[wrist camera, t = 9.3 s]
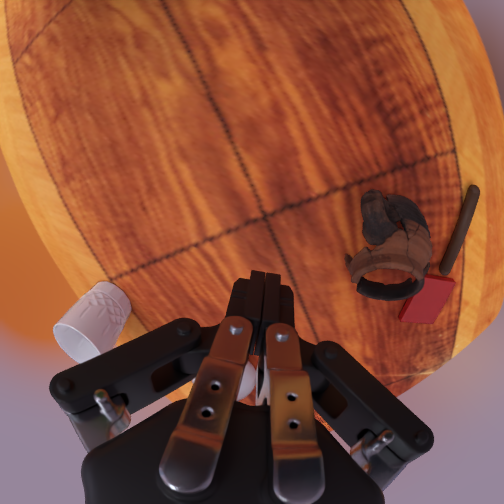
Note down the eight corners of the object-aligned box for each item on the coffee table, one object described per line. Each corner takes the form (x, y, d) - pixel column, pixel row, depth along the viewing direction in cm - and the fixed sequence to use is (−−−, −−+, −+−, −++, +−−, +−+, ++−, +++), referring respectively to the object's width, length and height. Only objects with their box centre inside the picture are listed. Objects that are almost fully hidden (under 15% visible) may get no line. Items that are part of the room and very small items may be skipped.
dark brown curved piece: (434, 232, 26) (441, 297, 22) (365, 250, 32) (361, 310, 28) (401, 151, 20) (414, 221, 15) (315, 184, 26) (302, 251, 22)
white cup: (107, 268, 32) (65, 315, 23) (145, 310, 35) (114, 364, 26) (82, 289, 35) (46, 332, 26) (116, 326, 37) (87, 373, 29)
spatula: (454, 175, 22) (462, 179, 20) (486, 190, 22) (494, 194, 20) (397, 316, 31) (401, 324, 30) (430, 319, 31) (434, 327, 30)
